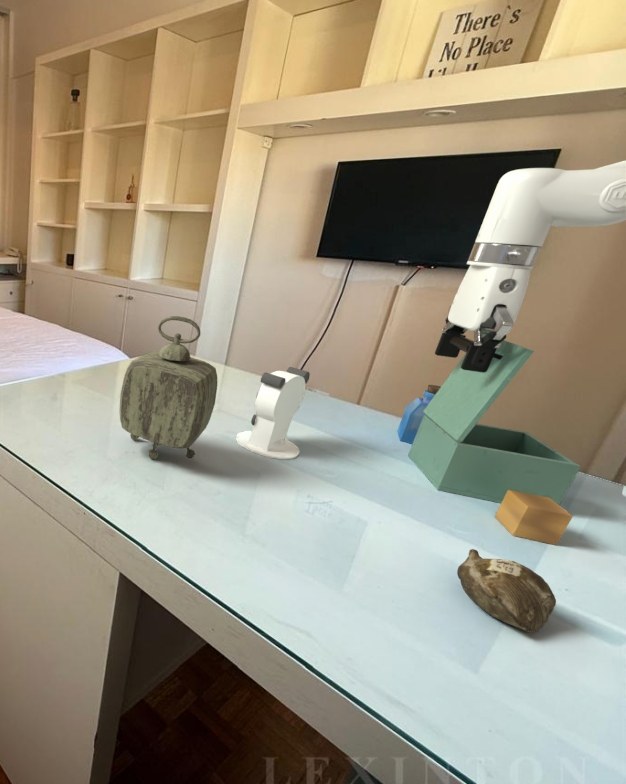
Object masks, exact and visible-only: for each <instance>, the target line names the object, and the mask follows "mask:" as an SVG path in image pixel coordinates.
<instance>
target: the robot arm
mask: <svg viewBox="0 0 626 784" xmlns="http://www.w3.org/2000/svg"><path fill="white" fill-rule="evenodd" d="M625 221H626V159H625V160H622V161H618V162H614V163H611V164H608V165H603V166H601V167H597V168H589V169H574V170H573V169H572V170H571V169H569V170H568V169H567V170H565V169H562V168H556V167H555V168H554V167H529V168H527V167H526V168H519V169H514V170H510V171H507V172H506V173H505V174H503V175H502V176H501V177H500V178H499V180H498V183H497V184H496V187H495V190H494V192H493V195H492V197H491V200H490V202H489V205H488V208H487V210H486V213H485V216H484V218H483V220H482V224H481V225H480V229H479V230H478V233H477V236H476V238H475V241H474V244H473V246H472V249H471V252H470V254H469V257H468V259H467V262H466V265H469V266H468V268H467V271H466V272H465V275H464V277H463V279H462V281H461V282H460V285H459V287H458V289H457V291H456V293H455V296H454V298H453V300H452V303H451V305H450V306H449V308H448V312H447V317H446V318H445V320H444V321H445V324H444V326H443V327H442V333H441V336H440V338H439V340H438V343H437V346H436V348H435V351H434V355H436V356H439V357H445V358H454V359H455V358H458V357H459V354H460V352H461V350H460V349H457V348H455V347H453V346H452V345H451V344H450V340H451V339H452V338H453V337H454V336H463V337H465V338H467V335H465V333H466V332H467V331H470V332H473V341H474V345H470V346H469V348H468V351H467V353H466V352H465V354H466V356H465V358H464V360H463V363H462V365H461V368H462V369H463V370H468V371H476V372H483V373H484V372H487V370H488V368H489V366H490V363H491V361H492V359H493V356H494V354H495V352H496V350H497V349H498V348H499V347H500V345H501V342H502V341H503V340H505V339H506V338H507V335H508V334H510V333H511V332H512V330H513V328H514V325H515V323H516V321H517V317H518V315H519V313H520V310H521V307H522V305H523V302H524V299H525V296H526V293H527V290H528V287H529V283H530V278H531V273H532V272H531V271H532V270H533V268H534V266H535V263H536V261H537V259H538V257H539V254H540V252H541V249H542V247H543V245H544V243H545V241H546V238H547V236H548V234H549V232H550V229H551V227H555V228H557V227H558V228H575V227H576V228H577V227H579V228H580V227H581V228H583V227H584V228H585V227H586V228H587V227H604V226H610V225H615V224H618V223H622V222H625ZM483 334H487V335H485V336H484V337H483Z"/></svg>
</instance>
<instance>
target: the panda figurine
mask: <svg viewBox="0 0 626 784" xmlns="http://www.w3.org/2000/svg"><path fill="white" fill-rule="evenodd" d="M310 375H311V373H310V372H309V371H307V370H304V369H300V368H296V367H292V366H289V367H287V368H286V371H285V370H276V371H273V372H271V373H270V372H264V373H263V374H262V375H261V378H260V383H261V386H260V387H259V389H258V391H257V393H256V397H255V403H254V413H255V414H253V416H252V417H251V421H250V423H251V426H253V428H252V430H244V431H240V432H238V433H237V434H236V437H235V439H236V443H238V445H240V447H242V448H244V449H246V450H247V451H249V452H251V453H254V454H256V455H259V456H262V457H266V458H271V459H277V460H291V459H295V458H297V457H298V456H300V448H299V447H298V446H297V445H296V444H295V443H293V442H292V441H290V440H288V439H287V434H288V431H289V428H290V425H291V423H292V420H293V418H294V417H295V415H296V414H297V413H298V412H299V409H300V407H301V405H302V404H303V400H304V397H305V393H306V384H308V382H309V380H310Z"/></svg>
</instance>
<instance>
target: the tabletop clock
mask: <svg viewBox="0 0 626 784" xmlns="http://www.w3.org/2000/svg"><path fill="white" fill-rule="evenodd" d="M169 321H178V322H183V323H186V324H189V325H192V326H193V327H194V329H195V330H196V332H197V333H196V336H195V337H193V338H187V339H184V338H182V335H181V334H180V333H175V334H174V337H173V336H170V335H168V334H166V333H164V331H162V326H163V324H165V323H167V322H169ZM157 330H158V333H159V334H160V336H161V337H162V338H164V339H165V340H167V341H169V343H166V344H165V345H164V346H162V347H161V348H160V350H158V351H151V352H147V353H145V354H143V355H140V356H139V357H137V358H135V359H133V360H131V361H130V363H129V365H128V366H127V368H126V371H125V373H124V377H123V381H122V386H121V389H120V396H119V397H120V399H119V420H120V424H121V428H122V429H123V430H124V431H125V432H127V433H129V434H130V439H131V440H133V441H137V440H139V438H141V439H143V440H146V441H148V442H151V443H153V444H152V449H151V450H149V451H148V453H147V457H148V458H149V459H151V460H155V459H157V458H158V452H157V447H158V445H161V446H166V447H169V448H175V449H183V450H184V449H185V450H186V451H185V456H186V458H188V459H192V458H194V457H195V456H196V452H195V450H194V449H192V448H191V447H192V446H193V445H194V443H195V442H197V439H198V438H199V437H200V436H201V435H202V434H203V432H204V431H205V430H206V429H207V427H208V424H209V422H210V421H211V417H212V414H213V412H214V408H215V405H216V400H217V399H216V398H217V392H218V373H217V369H216V367H215V366H213V365H212V364H210V363H209V362H206V361H205V360H202V359H198V358H195V357H192V356H191V354H190V351H189V349H188V348H187V347H186V346H185V345H184V344H190V343H194V342H196V341H198V339H199V338H200V337H201V328H200V326H199V325H198V323H197V322H196V321H194V320H193V319H191V318H188V317H184V316H178V315H172V316H167V317H165V318H163V319H161V320H160V322H159V324H158V325H157Z"/></svg>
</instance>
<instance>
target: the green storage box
mask: <svg viewBox="0 0 626 784" xmlns="http://www.w3.org/2000/svg"><path fill="white" fill-rule="evenodd" d="M407 457H408V458H409V459H410V460H411V461H412V462H413V463H414V465H415V466H416V467H417V468H418V469H419V470H420V472H421V473H422V474H423V475H424V477H426V479H427V480H428V481H429V482H430V483H431V484H432V485H433V487H435V489H436V490H437V491H441V492H446V493H450V494H455V495H460V496H464V497H465V496H466V497H469V498H475V499H478V500H479V499H480V500H484V501H488V502H489V501H490V502H493V503H499V504H501V503H502V501H503V499H504V497H505V495H506V493H507V491H508V490H513V491H518V492H523V493H528V494H533V495H538V496H543V497H548V498H551V499H552V500H553V501H554V502H556V503H557V504H558V505H559V506H561V503H562V501H563V500H564V497H565V496H566V495H567V492H568V491H569V488H570V487H571V485H572V484H573V481H574V480H575V478H576V476H577V474H578V473H579V471H580V469H581V467H582V465H580V464H578V463H576V462H575V461H573V460H572V459H571V458H569V457H567V456H565V454H562V453H561V452H559V451H558V450H556V449H554V448H553V447H551V446H550V445H549V444H547V443H545V442H544V441H542V440H540V439H539V438H537V437H535V436H534V435H533V434H531V433H529V432H528V431H523V430H518V429H511V428H505V427H500V426H493V425H487V424H482V423H477V424H476V425H475V426H474V427H473V429H472V430H471V431H470V432H469V434H468V435H467V436H466V437H465V439H464V440H463V441H462V442H459V441H457V440H456V439H454V438H453V437H452V436H451V435H450V434H449V433H447V432H446V431H445V430H444V429H443V428H441V427H440V426H439V425H438V424H437V423H436V422H434V421H433V420H432V419H431V418H430V417H429V416H427V415H424V417H423V419H422V422H421V424H420V427H419V429H418V432H417V434H416V437H415V439H414V441H413V444H411V446H410V448H409V451H408V455H407Z"/></svg>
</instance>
